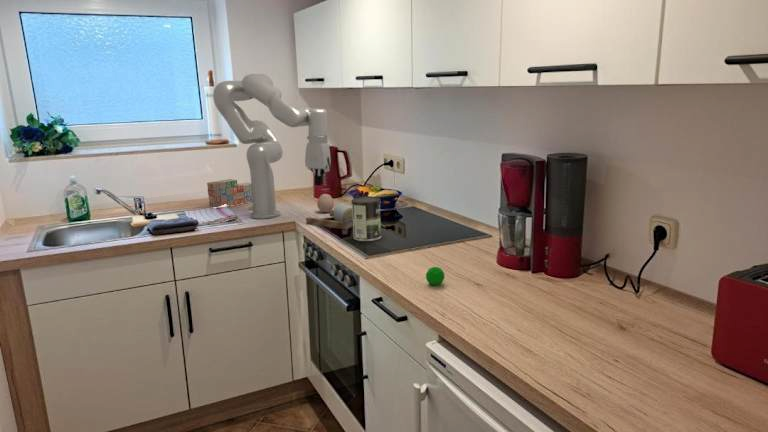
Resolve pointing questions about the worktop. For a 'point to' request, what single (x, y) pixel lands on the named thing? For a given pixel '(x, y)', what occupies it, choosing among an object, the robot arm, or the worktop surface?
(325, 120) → the robot arm
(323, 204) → the egg
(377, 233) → the coffee can
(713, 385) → the worktop surface
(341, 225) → the brown flat slab
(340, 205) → the light bulb
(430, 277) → the green ball
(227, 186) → the stack of blocks
